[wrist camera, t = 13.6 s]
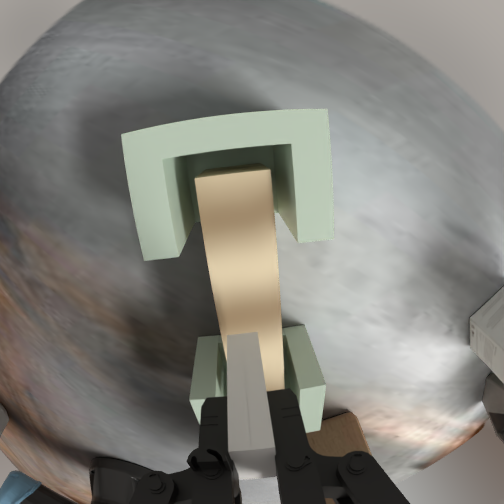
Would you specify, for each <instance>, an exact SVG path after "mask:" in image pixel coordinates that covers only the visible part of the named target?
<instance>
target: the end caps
mask: <svg viewBox="0 0 504 504" xmlns="http://www.w3.org/2000/svg"><path fill="white" fill-rule="evenodd" d="M121 138H122V146H123V153H124V161H125V167H126V174H127V180H128V186H129V192H130V197H131V203H132V208H133V213H134V218H135V223H136V228H137V232H138V237H139V241H140V246H141V250H142V254H143V258H144V261H149V260H157V259H166V258H174V257H179V256H180V253H181V251H182V249H183V247H184V245H185V243H186V241H187V238H188V236H189V234H190V232H191V230H192V228H193V226H194V224H195V222H201V220H200V213H199V206H198V200H197V193H196V185H195V178H196V177H197V176H198V175H199V174H200V173H202V172H203V171H204V170H205V169H213V168H221V167H229V166H237V165H247V164H257V163H261V164H263V165H264V166H266V167H267V168H269V169H270V170H271V180H272V192H273V204H274V213H279V214H280V216H281V217H282V219H283V220H284V222H285V223H286V225H287V227H288V228H289V230H290V231H291V233H292V235H293V236H294V238H295V239H296V241H297V242H298V243H304V242H313V241H322V240H331V239H334V207H333V179H332V160H331V145H330V132H329V121H328V110H327V109H292V110H272V111H258V112H246V113H236V114H227V115H219V116H211V117H204V118H198V119H191V120H185V121H180V122H174V123H169V124H164V125H159V126H154V127H149V128H145V129H140V130H136V131H132V132H128V133H124V134H121ZM282 339H283V359H284V383H285V389H287V388H290V389H291V390H292V391H293V393H294V394H295V395H296V396H297V399H298V403H299V408H300V411H301V416H302V419H303V423H304V427H305V431H306V433H308V432H314V431H319V430H320V427H321V421H322V413H323V406H324V398H325V390H326V383H325V380H324V377H323V375H322V372H321V369H320V366H319V363H318V361H317V358H316V355H315V352H314V349H313V347H312V344H311V341H310V339H309V336H308V333H307V330H306V328H305V325H300V326H293V327H286V328H282ZM223 396H227V361H226V356H225V351H224V347H223V342H222V337H221V335H216V336H204V337H198V341H197V348H196V354H195V361H194V368H193V375H192V383H191V390H190V398H189V400H190V403H191V405H192V408H193V410H194V412H195V415H196V417H197V419H198V422H199V424H200V419H201V406H202V405H203V403H204V401H205V399H206V398H208V397H223Z"/></svg>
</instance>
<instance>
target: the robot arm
mask: <svg viewBox="0 0 504 504" xmlns="http://www.w3.org/2000/svg"><path fill="white" fill-rule="evenodd" d="M187 463H188V464H189V466H190V468H188V469H186V470H184V471H180V472H176V473H172V474H166V473H164V472H162V471H151V470H149V469H146V468H144V467H141V466H138V465H135V464H132V463H128V462H125V461H121V460H116V459H111V458H95V459H93V460H92V462H91V465H90V469H89V474H90V484H91V493H92V501H91V504H242V497H241V490H240V488H239V480H246V479H257V478H267V477H275V476H277V479H278V487H279V494H280V501H281V504H326V501H325V498H332V499H333V500H334V502H335V504H410V503H409V502H408V500H407V499H406V498H405V497H404V495H403V494H402V493H401V492H400V490H399V489H398V488H397V487H396V485H395V484H394V483H393V482H392V480H391V479H390V478H389V477H388V475H387V474H386V473H385V472H384V470H383V469H382V468H381V466H380V465H379V464H378V463H377V461H376V460H375V459H374V457H373V456H371V455H370V454H369V453H367V452H364V451H353V452H349V453H347V454H346V455H344V456H343V457H334V456H323V455H320V454H318V453H316V452H315V451H313V449H312V448H311V447H310V445H309V443H308V439H307V435H306V431H305V427H304V423H303V419H302V416H301V411H300V408H299V403H298V399H297V396H296V395H295V394H294V393H293V391H292V390H291V389H290V388H287V389H280V390H273V391H266V385H265V378H264V372H263V365H262V358H261V352H260V345H259V339H258V332H251V333H243V334H234V335H227V396H223V397H208V398H206V399H205V401H204V403H203V405H202V406H201V419H200V432H199V448H197V449H195V450H193V451H192V452H191V454H190V455H189V456H188V459H187ZM0 504H78V503H76V502H74V501H72V500H70V499H68V498H66V497H64V496H62V495H60V494H58V493H56V492H55V491H53V490H51V489H49V488H47V487H46V486H44V485H42V483H41V482H40V481H36V480H34V479H32V478H31V477H29V476H27V475H26V474H24V473H22V472H20V471H11V472H10V473H9V475H8V477H7V478H6V480H5V481H4V483H3V485H2V487H1V488H0Z"/></svg>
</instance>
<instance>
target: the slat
mask: <svg viewBox="0 0 504 504" xmlns="http://www.w3.org/2000/svg"><path fill="white" fill-rule="evenodd" d="M195 185H196V193H197V200H198V206H199V213H200V220H201V226H202V232H203V239H204V245H205V251H206V257H207V263H208V268H209V274H210V280H211V285H212V291H213V296H214V301H215V307H216V312H217V317H218V322H219V327H220V332H221V337H222V342H223V347H224V351H225V356H226V361H227V335H234V334H243V333H251V332H258V339H259V345H260V352H261V358H262V365H263V372H264V378H265V385H266V391H273V390H280V389H285V383H284V359H283V339H282V320H281V302H280V286H279V271H278V256H277V242H276V229H275V216H274V204H273V192H272V180H271V170H270V169H269V168H267V167H266V166H264V165H263V164H261V163H257V164H247V165H237V166H229V167H221V168H213V169H205V170H204V171H203V172H202V173H200V174H199V175H198V176H197V177H196V178H195Z"/></svg>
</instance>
